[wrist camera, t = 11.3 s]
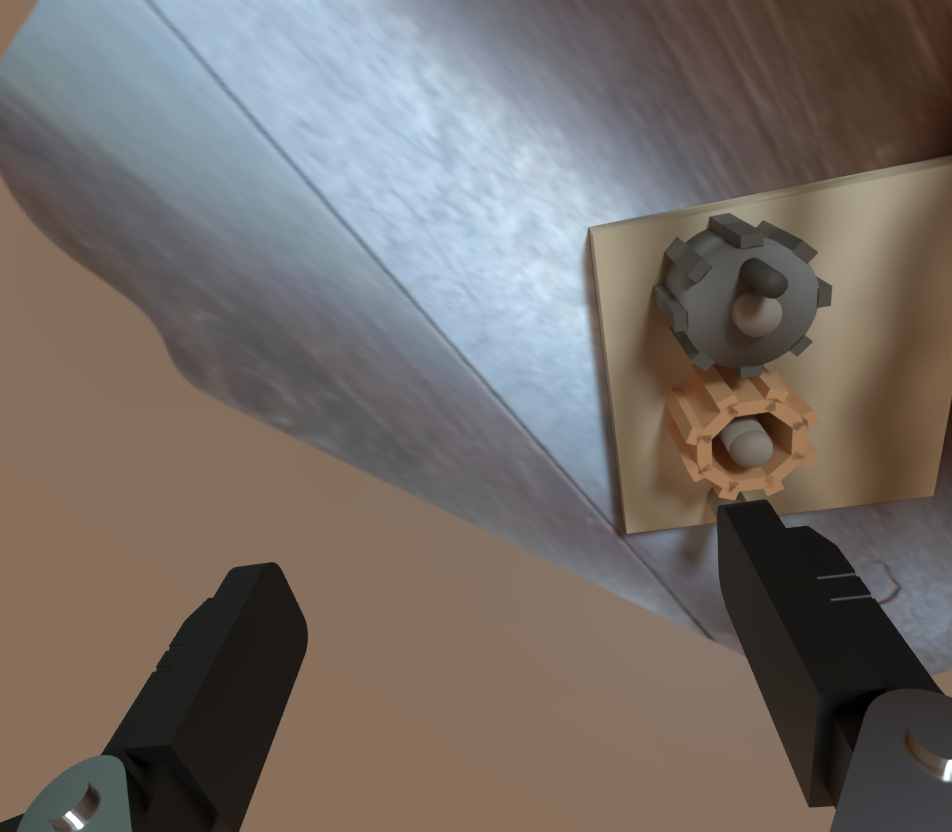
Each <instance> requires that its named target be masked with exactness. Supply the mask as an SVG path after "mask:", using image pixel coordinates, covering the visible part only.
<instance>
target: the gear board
mask: <svg viewBox="0 0 952 832" xmlns="http://www.w3.org/2000/svg"><path fill="white" fill-rule="evenodd" d="M589 235H590V244H591V252H592V261H593V269H594V278H595V286H596V295H597V304H598V312H599V321H600V329H601V338H602V347H603V355H604V364H605V372H606V381H607V390H608V398H609V407H610V415H611V424H612V432H613V441H614V450H615V458H616V467H617V475H618V484H619V493H620V501H621V510H622V516H623V520H624V524H625V528H626V532H627V534H629V533H637V532H646V531H654V530H662V529H670V528H678V527H686V526H694V525H702V524H711V523H717V509H718V506H719V505H723V504H731V503H739V502H746V501H754V500H762V499H766V500H767V501H768V502H769V503H770V504H771V505H772V507H773V509H774V510H775V512H776V513H777V515H784V514H792V513H800V512H808V511H816V510H825V509H833V508H841V507H849V506H857V505H865V504H873V503H881V502H890V501H898V500H906V499H914V498H922V497H930V496H934V492H935V486H936V481H937V475H938V470H939V464H940V459H941V454H942V448H943V443H944V437H945V432H946V426H947V421H948V415H949V410H950V405H951V399H952V155H949V156H944V157H939V158H934V159H929V160H924V161H919V162H914V163H909V164H904V165H899V166H894V167H889V168H884V169H879V170H874V171H869V172H864V173H859V174H854V175H849V176H844V177H839V178H834V179H829V180H824V181H819V182H814V183H809V184H804V185H799V186H794V187H789V188H784V189H779V190H774V191H769V192H764V193H759V194H754V195H749V196H743V197H738V198H733V199H728V200H723V201H718V202H713V203H708V204H703V205H698V206H693V207H688V208H683V209H678V210H673V211H668V212H663V213H658V214H653V215H648V216H643V217H638V218H633V219H628V220H623V221H618V222H613V223H608V224H603V225H598V226H593V227H589ZM694 364H696V365H697V366H699V367H700V368H701V369H703V370H704V371H707V370H708V369H709V368H710V367H711V366H712V365H721V366H725V367H731V368H733V369H734V370H735V372H736V373H737V374H738V375H739V377H740V378H741V379H742V378H748V377H754V376H761V365H764V366H765V367H766V369H767V370H768V371H769V372H770V373H771V374H772V373H774V372H776V371H777V372H778V373H779V374H780V376H781V377H782V378H783V379H784V380H785V381H786V382H787V383H788V384H789V385H790V386H791V387H792V388H793V389H794V390H795V391H796V392H797V393H798V395H799V396H800V397H801V398H802V399H803V400H804V401H805V402H806V403H807V404H808V405H809V406H810V407H811V408H812V409H813V411H814V413H815V415H816V417H817V419H818V421H819V423H820V424H819V425H817V426H814V427H812V428H810V429H808V437H807V440H808V441H809V442H810V444H811V445H812V446H813V447H814V448H815V449H816V451H817V452H818V453H817V455H816V456H815V458H814V460H813V462H812V464H811V465H810V467H806V466H801V465H798V466H797V467H796V468H795V469H793V470H792V471H791V472H790V473H789V474H788V475H787V476H786V477H784V478H783V479H782V480H781V483H782V485H783V486H784V488H785V489H783V490H781V491H778V492H776V493H774V494H772V495H769V496H767V495H766V493H765V491H764V490H763V489H756V490H749V491H741V492H739V493H738V495H737V497H736V499H735V500H730V499H725V498H719V497H718V496H717V494H716V492H715V490H714V488H713V486H712V484H711V482H710V480H708V479H707V478H703V479H701V480H699V481H697V482H694V480H693V479H692V477H691V475H690V474H689V472H688V470H687V468H686V466H685V464H684V462H683V460H682V458H681V455H680V453H679V451H678V449H677V447H676V445H675V442H674V440H673V438H672V436H671V434H670V432H669V429H668V427H667V426H669V425H671V424H673V423H675V420H674V418H673V416H672V414H671V412H670V410H669V408H668V406H667V404H666V399H667V397H668V394H669V392H670V389H671V388H675V389H680V390H681V389H682V388H683V387H684V386H685V385H686V384H687V383H688V382H689V381H690V379H691V378H692V377H693V376H694V375H695V374H696V373H695V371H694V369H693V368H692V365H694ZM757 414H758V413H757ZM757 414H751V415H744V416H737V417H734V418H733V419H732V420H731V421H730V422H729V423H728V424H727V425H726V426H725V427H724V428H723V429H722V430H721V431H720V432H719V433H718V434H717V435H718V436H719V437H720V439H721V441H722V442H723V444H724V446H725V447H726V449H727V451H728V452H729V454H730V456H731V457H732V459H733V460H734V461H735V462H736V463H737V464H739V465H741V466H743V467H747V468H756V467H760V466H762V465H764V464H765V463H766V462H767V461H768V460H769V459H770V458H771V456H772V453H773V444H772V441H771V439H770V437H769V436H768V434H767V433H766V432H765V430H764V429H763V428H762V426H761V425H760V424H759V422H758V421H757V420H756V418H755V416H756V415H757ZM717 435H716V436H717Z"/></svg>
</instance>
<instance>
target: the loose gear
mask: <svg viewBox="0 0 952 832" xmlns="http://www.w3.org/2000/svg"><path fill="white" fill-rule="evenodd" d="M692 368H693V369H694V371H695V373H696V374H695V375H694V376H693V377H692V378H691V379H690V381H689V382H688V383H687V384H686V385H685V386H684V387H683V388H682V389H681V390H680V389H675V388H671V389H670V392H669V394H668V397H667V399H666V404H667V406H668V408H669V410H670V412H671V414H672V416H673V418H674V420H675V423H673V424H671V425H669V426H667V427H668V429H669V432H670V434H671V436H672V438H673V440H674V442H675V445H676V447H677V449H678V451H679V453H680V455H681V458H682V460H683V462H684V464H685V466H686V468H687V470H688V472H689V474H690V475H691V477H692V479H693V480H694V482H697V481H699V480H701V479H703V478H707V479H708V480H710V482H711V484H712V486H713V488H714V490H715V492H716V494H717V496H718V497H719V498H725V499H730V500H735V499H736V497H737V495H738V493H739V492H741V491H749V490H756V489H763V490H764V491H765V493H766V495H767V496H769V495H772V494H774V493H776V492H778V491H781V490H783V489H785V488H784V486H783V485H782V483H781V480H782V479H783V478H784V477H786V476H787V475H788V474H789V473H790V472H791V471H792V470H793V469H795V468H796V467H797V466H798V465H801V466H806V467H810V465H811V464H812V462H813V460H814V458H815V456H816V455H817V453H818V452H817V451H816V449H815V448H814V447H813V446H812V445H811V444H810V442H809V441H808V440H807V437H808V429H810V428H812V427H814V426H817V425H819V424H820V423H819V421H818V419H817V417H816V415H815V413H814V411H813V409H812V408H811V407H810V406H809V405H808V404H807V403H806V402H805V401H804V400H803V399H802V398H801V397H800V396H799V395H798V393H797V392H796V391H795V390H794V389H793V388H792V387H791V386H790V385H789V384H788V383H787V382H786V381H785V380H784V379H783V378H782V377H781V376H780V374H779V373H778V372H777V371H776V372H774V373H772V374H771V373H770V372H769V371H768V370H767V369H766V367H765V366H764V365H761V376H754V377H748V378H742V379H741V378H740V377H739V375H738V374H737V373H736V372H735V370H734V369H733V368H731V367H725V366H721V365H712V366H711V367H710V368H709V369H708V370H707V371H704V370H703V369H701V368H700V367H699V366H697V365H696V364H694V365H692ZM757 413H758V414H757ZM751 414H757V415H756V416H755V418H756V420H757V421H758V422H759V424H760V425H761V426H762V428H763V429H764V430H765V432H766V433H767V434H768V436H769V437H770V439H771V441H772V444H773V453H772V456H771V458H770V459H769V460H768V461H767V462H766V463H765V464H764V465H762V466H760V467H756V468H747V467H743V466H741V465H739V464H737V463H736V462H735V461H734V460H733V459H732V457H731V456H730V454H729V452H728V451H727V449H726V447H725V446H724V444H723V442H722V441H721V439H720V437H719V436H718V435H717V434H718V433H719V432H720V431H721V430H722V429H723V428H724V427H725V426H726V425H727V424H728V423H729V422H730V421H731V420H732V419H733V418H734V417H737V416H744V415H751ZM716 435H717V436H716Z"/></svg>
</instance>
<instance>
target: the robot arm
mask: <svg viewBox="0 0 952 832" xmlns="http://www.w3.org/2000/svg"><path fill="white" fill-rule="evenodd" d="M717 534H718V568H719V580H720V586H721V591H722V595H723V599H724V602H725V605H726V608H727V611H728V613H729V616H730V618H731V621H732V623H733V626H734V628H735V630H736V633H737V635H738V638H739V640H740V642H741V645H742V647H743V650H744V652H745V655H746V657H747V659H748V662H749V664H750V667H751V669H752V671H753V674H754V676H755V679H756V681H757V683H758V686H759V688H760V691H761V693H762V695H763V698H764V700H765V703H766V705H767V707H768V710H769V712H770V715H771V717H772V720H773V722H774V724H775V727H776V729H777V732H778V734H779V737H780V739H781V741H782V744H783V746H784V749H785V751H786V754H787V756H788V758H789V761H790V763H791V766H792V768H793V770H794V773H795V775H796V778H797V780H798V782H799V785H800V787H801V790H802V792H803V795H804V797H805V799H806V802H807V804H808V806H809V807H824V806H825V807H826V806H834V807H835V809H836V812H835V816H834V819H833V822H832V826H831V829H830V832H952V698H951V697H949V696H946V695H945V694H944V693H943V692H942V691H941V690H940V688H939V687H938V686H937V685H936V683H935V682H934V681H933V679H932V678H931V676H930V675H929V674H928V672H927V671H926V669H925V668H924V667H923V665H922V664H921V663H920V661H919V660H918V658H917V657H916V656H915V654H914V653H913V651H912V650H911V649H910V647H909V646H908V644H907V643H906V642H905V640H904V639H903V637H902V636H901V635H900V633H899V632H898V630H897V629H896V628H895V626H894V625H893V623H892V622H891V621H890V619H889V618H888V616H887V615H886V614H885V612H884V611H883V609H882V608H881V607H880V605H879V604H878V602H877V601H876V600H875V598H874V599H872V597H871V593H870V591H869V590H868V589H867V587H866V586H865V584H864V583H863V582H862V580H861V579H860V577H859V576H858V577H857V576H856V574H855V570H854V569H853V568H852V566H851V565H850V563H849V562H848V561H847V559H846V558H845V556H844V555H843V554H842V552H841V551H840V549H839V548H838V547H837V545H835V544H834V543H832V542H831V541H829V540H828V539H826V538H825V537H823V536H822V535H820V534H819V533H817V532H816V531H815V530H813V529H812V528H810V527H809V526H801V527H793V528H785V526H784V524H783V523H782V521H781V520H780V518H779V517H778V515H777V513H776V512H775V510H774V509H773V507H772V505H771V504H770V503H769V502H768V501H767V500H766V499H762V500H754V501H746V502H739V503H731V504H723V505H719V506H718V509H717ZM307 643H308V631H307V624H306V621H305V618H304V616H303V614H302V611H301V609H300V607H299V605H298V603H297V601H296V599H295V597H294V595H293V593H292V591H291V588H290V587H289V584H288V582H287V580H286V578H285V576H284V574H283V572H282V570H281V568H280V567H279V566H278V565H277V564H276V563H274V562H270V563H262V564H254V565H247V566H240V567H235V568H233V569H231V570H230V571H229V572H228V574H227V576H226V577H225V579H224V580H223V582H222V584H221V585H220V587H219V589H218V590H217V592H216V594H215V595H214V597H213V598H208V599H207V600H206V601H205V602H204V603H203V604H202V605H201V606H200V607H199V608H198V609H197V610H195V612H193V613H192V614H191V615H190V616H189V618H187V619H186V620H185V621H184V623H183V625H182V626H181V628H180V629H179V631H178V632H177V634H176V636H175V637H174V639H173V641H172V642H171V644H170V645H169V647H170V649H169V651H166V652H165V653H164V655H163V656H162V658H161V660H160V661H159V663H158V664H157V666H156V668H157V670H156V672H153V673H152V674H151V676H150V677H149V679H148V680H147V682H146V684H145V685H144V687H143V688H142V690H141V692H140V693H139V695H138V697H137V698H136V700H135V701H134V703H133V705H132V706H131V708H130V709H129V711H128V712H127V714H126V716H125V717H124V719H123V720H122V722H121V724H120V725H119V727H118V728H117V730H116V732H115V733H114V735H113V737H112V738H111V740H110V742H109V743H108V744H107V746H106V748H105V749H104V751H103V752H102V754H101V755H100V756H96V757H92V758H89V759H87V760H84V761H82V762H79V763H78V764H76V765H74V766H72V767H70V768H69V769H68V770H66V771H64V772H63V773H62V774H60V775H59V776H58V777H57V778H55V779H54V780H53V781H52V782H51V783H50V784H49V785H47V787H45V788H44V789H43V790H42V792H41V793H40V794H39V795H38V796H37V797H36V798H35V800H34V801H33V802H32V803H31V805H30V806H29V808H28V809H27V811H26V812H25V813H24V814H21V815H19V816H16V817H13V818H11V819H9V820H6V821H3V822H1V823H0V832H239V830H240V827H241V825H242V822H243V820H244V817H245V814H246V812H247V809H248V806H249V804H250V801H251V798H252V796H253V793H254V790H255V787H256V785H257V782H258V779H259V777H260V774H261V771H262V769H263V766H264V763H265V761H266V758H267V755H268V752H269V750H270V747H271V744H272V742H273V739H274V736H275V734H276V731H277V728H278V726H279V723H280V720H281V718H282V715H283V712H284V710H285V707H286V704H287V701H288V699H289V696H290V694H291V691H292V688H293V685H294V683H295V680H296V677H297V675H298V672H299V669H300V667H301V664H302V661H303V659H304V656H305V653H306V649H307Z"/></svg>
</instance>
